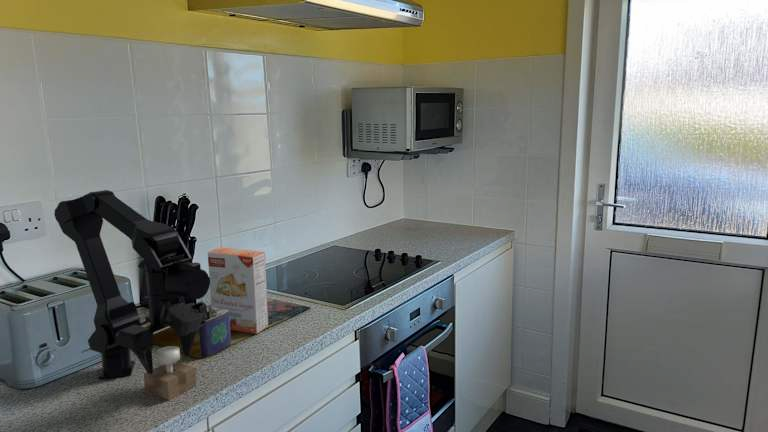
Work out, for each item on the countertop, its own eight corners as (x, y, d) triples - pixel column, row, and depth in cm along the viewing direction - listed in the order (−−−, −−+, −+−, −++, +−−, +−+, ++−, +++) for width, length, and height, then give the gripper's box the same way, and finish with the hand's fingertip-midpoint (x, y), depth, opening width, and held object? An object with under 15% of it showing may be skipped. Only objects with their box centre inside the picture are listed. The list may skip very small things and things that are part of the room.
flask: (225, 342, 138) (223, 301, 136) (235, 344, 137) (232, 303, 135) (197, 356, 130) (194, 313, 128) (207, 359, 129) (204, 315, 127)
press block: (145, 392, 113) (143, 374, 113) (173, 378, 119) (171, 360, 119) (169, 400, 110) (167, 381, 109) (196, 385, 116) (195, 367, 115)
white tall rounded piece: (154, 389, 114) (151, 352, 112) (172, 380, 118) (169, 344, 116) (169, 394, 112) (166, 356, 110) (187, 385, 116) (184, 348, 114)
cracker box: (211, 328, 147) (206, 251, 143) (225, 320, 152) (221, 246, 149) (256, 335, 142) (252, 256, 138) (269, 327, 147) (265, 250, 144)
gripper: (151, 312, 99) (158, 393, 102) (226, 284, 115) (231, 354, 118) (110, 302, 104) (118, 380, 107) (188, 276, 120) (193, 344, 123)
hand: (169, 364), depth 114 cm, fingers open, 9 cm apart
